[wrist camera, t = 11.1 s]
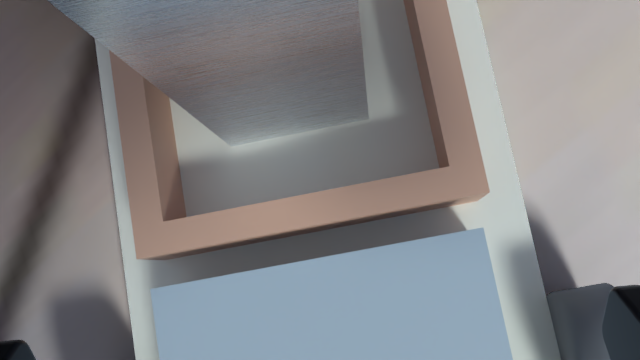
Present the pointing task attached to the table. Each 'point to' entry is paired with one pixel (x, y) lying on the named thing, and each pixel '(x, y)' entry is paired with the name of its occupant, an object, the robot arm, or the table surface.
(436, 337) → the chassis
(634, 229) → the table surface
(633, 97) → the table surface
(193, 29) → the blue-grey rectangular box
